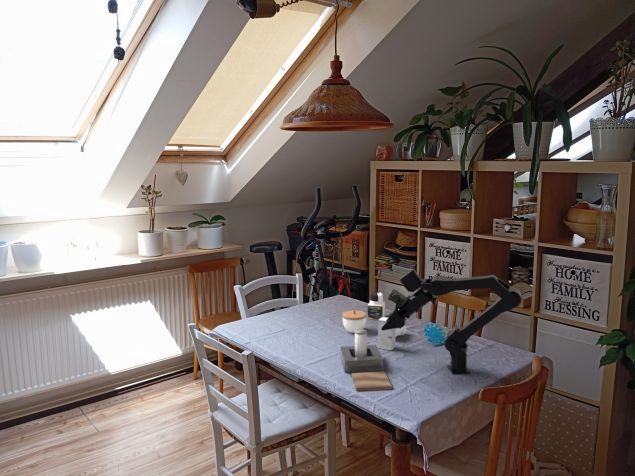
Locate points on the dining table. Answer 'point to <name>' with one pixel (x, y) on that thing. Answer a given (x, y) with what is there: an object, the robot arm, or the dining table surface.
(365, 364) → the collar
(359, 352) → the dome-capped cylinder
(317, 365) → the dining table surface
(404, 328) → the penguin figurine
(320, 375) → the dining table surface
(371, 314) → the medicine bottle
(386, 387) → the pad
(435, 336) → the blue fuzzy rounded lump
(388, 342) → the skincare box
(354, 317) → the lidded jar
